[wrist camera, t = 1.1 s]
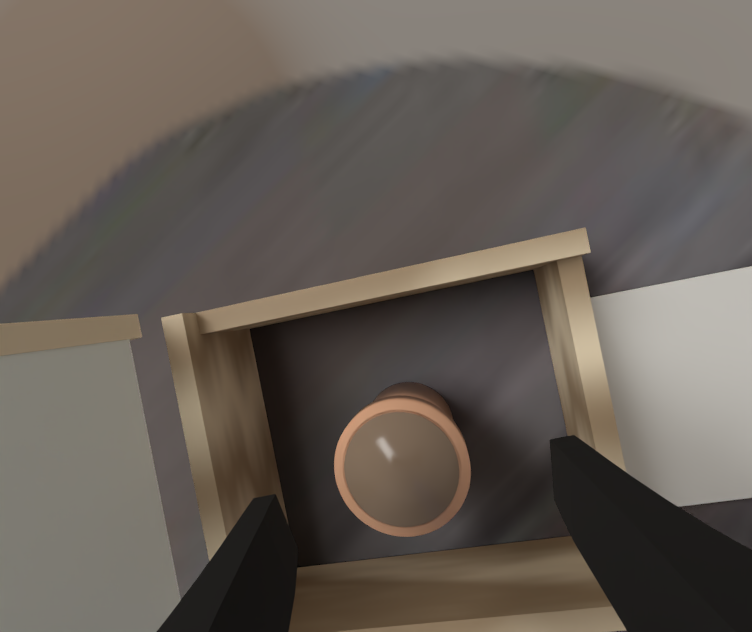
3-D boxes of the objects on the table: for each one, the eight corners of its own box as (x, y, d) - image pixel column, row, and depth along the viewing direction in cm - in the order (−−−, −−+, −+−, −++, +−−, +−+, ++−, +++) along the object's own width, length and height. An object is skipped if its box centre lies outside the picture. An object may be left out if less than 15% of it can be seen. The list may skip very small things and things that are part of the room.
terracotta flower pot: (469, 467, 22) (483, 529, 16) (371, 481, 22) (348, 545, 16) (449, 367, 22) (455, 390, 16) (351, 385, 23) (321, 413, 16)
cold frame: (612, 550, 21) (684, 648, 15) (284, 586, 23) (233, 682, 17) (549, 246, 21) (595, 222, 15) (230, 315, 23) (161, 317, 17)
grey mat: (822, 485, 19) (828, 488, 19) (624, 510, 21) (627, 512, 20) (775, 261, 19) (780, 260, 19) (581, 299, 21) (583, 299, 20)
